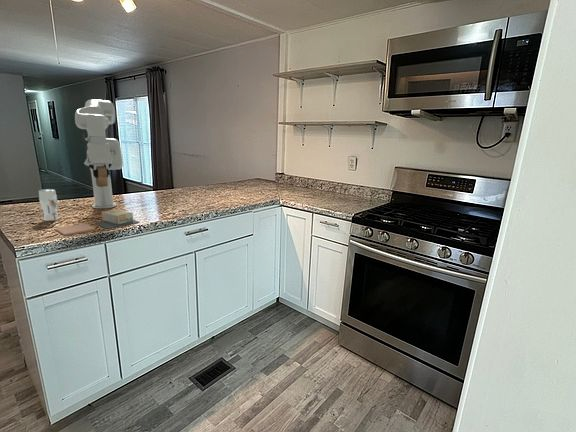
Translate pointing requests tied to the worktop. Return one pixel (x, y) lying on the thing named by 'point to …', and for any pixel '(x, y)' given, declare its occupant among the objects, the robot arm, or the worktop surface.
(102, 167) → the walnut block
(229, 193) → the worktop surface
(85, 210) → the worktop surface
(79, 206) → the worktop surface
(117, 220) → the supplement box
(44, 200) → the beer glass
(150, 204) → the worktop surface
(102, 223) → the mat
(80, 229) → the pad
